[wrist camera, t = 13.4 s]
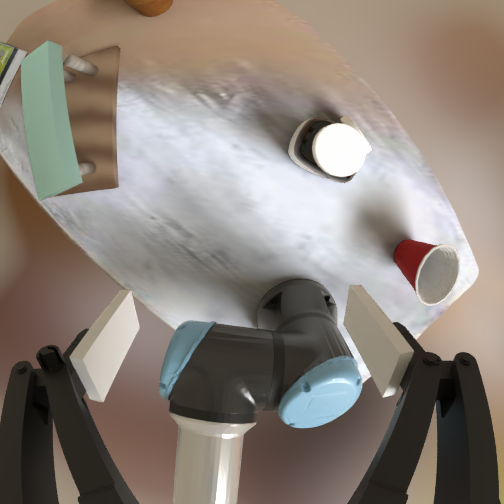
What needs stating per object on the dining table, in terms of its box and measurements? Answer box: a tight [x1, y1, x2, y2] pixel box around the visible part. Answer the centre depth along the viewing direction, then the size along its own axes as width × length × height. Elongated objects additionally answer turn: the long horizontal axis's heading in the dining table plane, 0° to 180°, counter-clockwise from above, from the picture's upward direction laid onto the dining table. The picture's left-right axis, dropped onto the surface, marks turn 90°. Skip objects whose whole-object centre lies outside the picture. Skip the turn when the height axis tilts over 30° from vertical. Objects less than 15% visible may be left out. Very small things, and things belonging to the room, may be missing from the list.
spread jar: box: [288, 115, 372, 183], centre depth 36 cm, size 12×11×12 cm
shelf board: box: [21, 40, 83, 201], centre depth 27 cm, size 24×6×4 cm, turn 13°
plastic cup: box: [394, 240, 460, 306], centre depth 43 cm, size 11×11×12 cm
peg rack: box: [55, 46, 120, 196], centre depth 34 cm, size 26×14×10 cm, turn 1°
